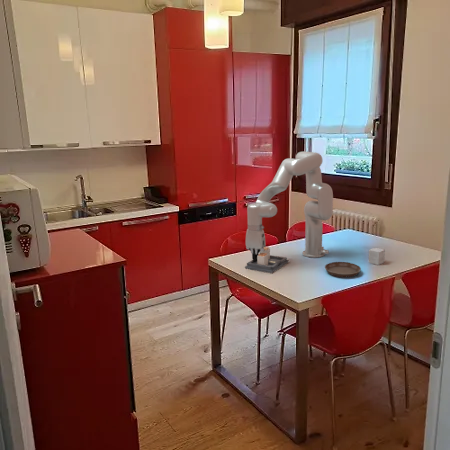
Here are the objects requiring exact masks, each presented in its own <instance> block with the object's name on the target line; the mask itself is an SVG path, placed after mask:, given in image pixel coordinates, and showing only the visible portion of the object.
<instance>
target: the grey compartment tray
mask: <svg viewBox="0 0 450 450" xmlns="http://www.w3.org/2000/svg"><path fill="white" fill-rule="evenodd" d="M287 264H289V259H288V257H284V256H277V255H271V254H270V259H268V265H267V266H265V265H259V264H257V261H253V259H251V260H249V261H248V262H246V265H245V267H244V268H245V269H246V270H252V271H256V272H262V273H268V274H274V273H275V272H277V270H279V269H281V268H282V267H284V266H285V265H287Z"/></svg>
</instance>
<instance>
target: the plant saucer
mask: <svg viewBox="0 0 450 450" xmlns="http://www.w3.org/2000/svg"><path fill="white" fill-rule="evenodd" d="M324 268H325V271H326V272H327V273H328V274H329V275H330V276H333V277H337V278H352V277H355V276H357V275H358V274H359V273H360V272H361V269H362V268H361V267H360V266H359V265H357V264H356V263H352V262H348V261H347V262H346V261H334V262H329V263H327V264H325V265H324Z"/></svg>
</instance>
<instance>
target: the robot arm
mask: <svg viewBox="0 0 450 450" xmlns="http://www.w3.org/2000/svg"><path fill="white" fill-rule="evenodd" d="M322 164H323V157H322V155H321V154H320V153H319V152H315V151H313V152H312V151H299V152H297V154H296V155H295V158H289V157H288V158H285V159H284V160H282V162H281V164H280V165H279V167H278V169H277V172H276V173H275V176H274V177H273V179H272V181H271V182H270V183H269V184H268V185H267V186H266V187H265V188H264V189H263V190H262V191H261V192H260V193H259V195H258V197H257V199H256V201H255V203H251V204H248V205H247V207H246V208H247V210H246V213H247V229H246V233H245V248H246V250H249V252H250V253H251V256H252V257H251V258H252V259H251V260H253V261H257V256H258V254H260V252H261V251H264V250H265V249H264V247H266V235H265V231H264V229H265V226H264V225H263V218H272V217H274V216H276V215H277V213H278V208H277V206H276V204H274V203H272V202H270V201H271V199H272V198H273V197H274V196H276V195H278V194H280V193H281V192H284V191H286V190H287V188H288V187H289V185H290V183H291V181H292V179H293V177H294V176H299V177H300V176H303V175H305V182H306V183H305V185H306V186H305V189H306V191H305V192H306V196H307V197H308V198H310V199H312V200H308V201H307V202H306V203H305V205H304V207H303V214H304V219H305V231H304V232H305V236H304V238H305V241H304V243H305V244H304V246H305V248H304V249H305V250H303V251H302V256H304V257H307V258H313V259H314V258H316V259H317V258H323V257H324V256H325V254H326V255H329V254H330V253H329V249H325V248H324V246H323V229H324V228H323V221H328V220H330V219H331V218H332V216H333V210H334V194H333V188H332V187H331V186H330V185H329V184H328V183H326V182H323V180H322V179H323V178H322V170H321V166H322Z"/></svg>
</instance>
